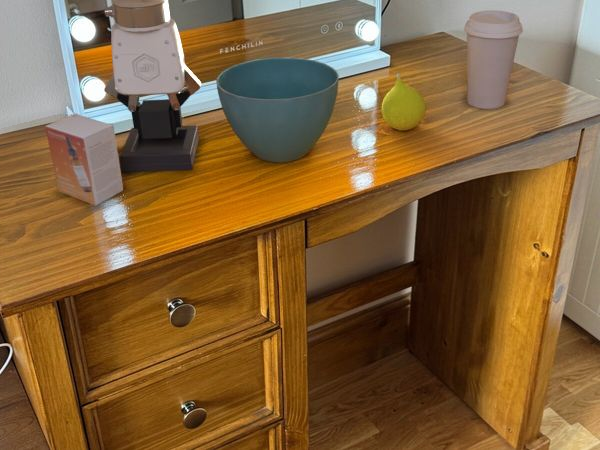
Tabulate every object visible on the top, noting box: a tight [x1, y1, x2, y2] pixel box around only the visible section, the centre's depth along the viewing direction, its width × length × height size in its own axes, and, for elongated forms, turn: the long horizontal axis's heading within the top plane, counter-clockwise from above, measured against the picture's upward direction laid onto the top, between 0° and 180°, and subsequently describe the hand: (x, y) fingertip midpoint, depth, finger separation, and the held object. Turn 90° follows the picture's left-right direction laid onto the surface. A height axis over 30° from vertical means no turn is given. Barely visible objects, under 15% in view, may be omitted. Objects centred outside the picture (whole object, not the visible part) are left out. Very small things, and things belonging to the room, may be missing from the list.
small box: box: [44, 112, 124, 207], centre depth 108 cm, size 8×6×10 cm
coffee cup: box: [463, 10, 524, 110], centre depth 131 cm, size 10×10×15 cm
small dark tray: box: [119, 124, 200, 173], centre depth 119 cm, size 11×11×3 cm
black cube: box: [139, 98, 173, 139], centre depth 117 cm, size 4×4×4 cm
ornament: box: [380, 66, 427, 131], centre depth 124 cm, size 7×7×10 cm
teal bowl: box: [215, 57, 340, 163], centre depth 117 cm, size 18×18×12 cm
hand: (159, 130), depth 118 cm, fingers closed on black cube, 4 cm apart
